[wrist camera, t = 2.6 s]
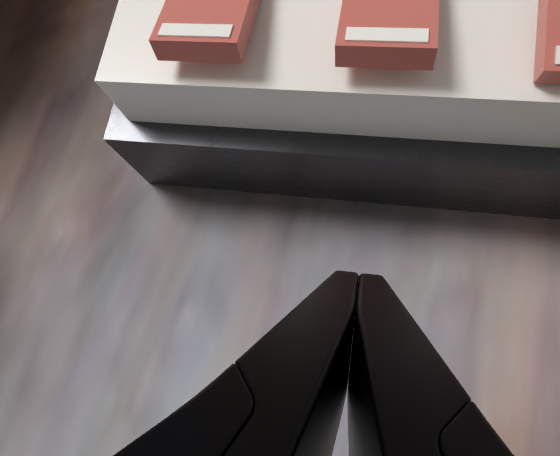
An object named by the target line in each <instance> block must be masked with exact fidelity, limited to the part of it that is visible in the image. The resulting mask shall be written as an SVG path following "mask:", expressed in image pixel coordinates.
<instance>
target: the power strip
mask: <svg viewBox="0 0 560 456" xmlns="http://www.w3.org/2000/svg"><path fill="white" fill-rule="evenodd" d="M164 3H165V0H119V2H118V5H117V8H116V11H115V15H114V18H113V21H112V25H111V28H110V31H109V34H108V38H107V41H106V44H105V47H104V51H103V54H102V57H101V60H100V64H99V67H98V70H97V74H96V77H95V80H94V81H95V82H96V83H97V85H98V86H99V87H100V88H101V89H102V90H103V91H104V93H105V94H106V95H107V96H108V97H109V98H110V100H111V101H112V102H113V103H114V104H115V105H116V106H117V108H118V109H119V110H120V111H121V112H122V113H123V114H124V116H125V117H126V118H127V119H128V120H129V121H140V122H156V123H171V124H187V125H203V126H219V127H235V128H251V129H267V130H283V131H299V132H314V133H330V134H346V135H362V136H378V137H394V138H410V139H426V140H442V141H458V142H473V143H489V144H505V145H521V146H537V147H553V148H560V84H536V83H533V79H534V63H535V47H536V31H537V15H538V0H439V25H438V50H437V54H436V58H435V63H434V67H433V70H406V69H378V68H351V67H335V42H336V36H337V30H338V24H339V18H340V12H341V6H342V0H260V2H259V5H258V9H257V12H256V16H255V19H254V23H253V26H252V30H251V33H250V37H249V40H248V44H247V47H246V51H245V54H244V58H243V61H242V64H241V63H214V62H186V61H159V60H157V58H156V56H155V53H154V51H153V49H152V47H151V45H150V42H149V38H150V36H151V33H152V31H153V29H154V26H155V24H156V22H157V19H158V17H159V15H160V12H161V10H162V7H163V5H164Z"/></svg>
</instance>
